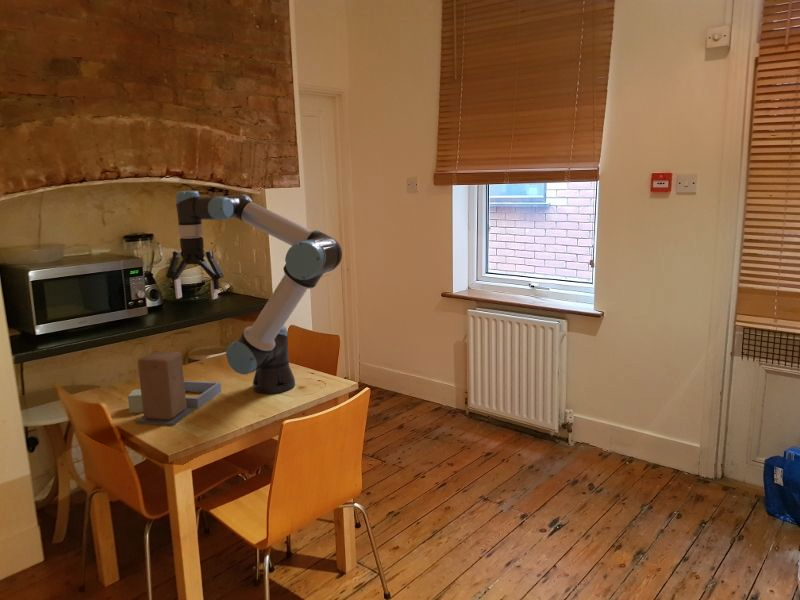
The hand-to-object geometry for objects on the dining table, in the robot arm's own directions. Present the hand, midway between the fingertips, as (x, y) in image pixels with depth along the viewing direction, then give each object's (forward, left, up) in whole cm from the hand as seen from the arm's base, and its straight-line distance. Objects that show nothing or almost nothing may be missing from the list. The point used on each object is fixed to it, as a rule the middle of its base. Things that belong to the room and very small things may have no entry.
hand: (196, 298), depth 213 cm
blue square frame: (+3, +6, -35) cm, 35 cm away
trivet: (+2, +22, -35) cm, 41 cm away
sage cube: (+14, +17, -35) cm, 41 cm away
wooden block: (+2, +22, -34) cm, 41 cm away
